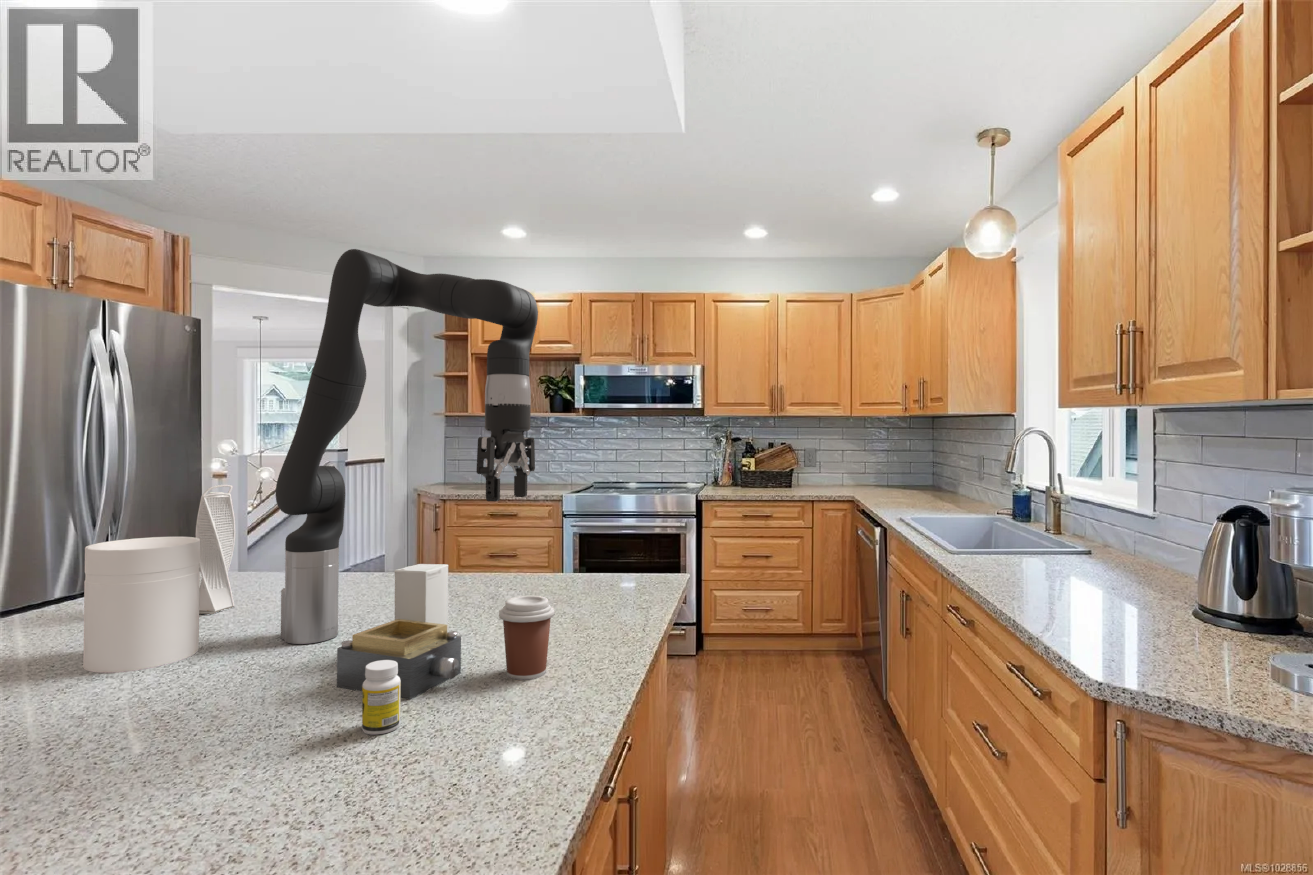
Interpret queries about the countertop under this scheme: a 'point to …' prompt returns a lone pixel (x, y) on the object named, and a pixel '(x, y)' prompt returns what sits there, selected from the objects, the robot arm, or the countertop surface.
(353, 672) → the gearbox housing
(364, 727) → the supplement bottle
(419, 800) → the countertop surface
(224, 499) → the skyscraper
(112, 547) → the canister
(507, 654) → the coffee cup
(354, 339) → the robot arm
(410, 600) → the skincare box
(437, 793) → the countertop surface
